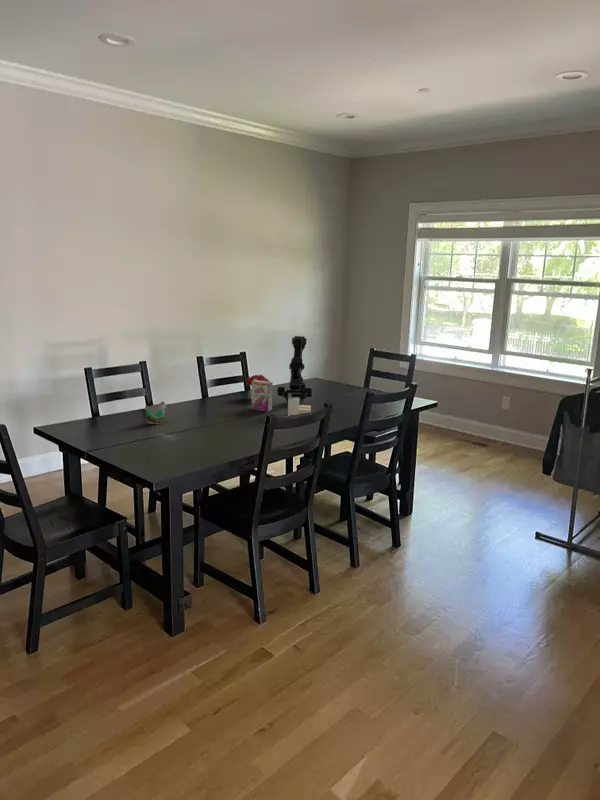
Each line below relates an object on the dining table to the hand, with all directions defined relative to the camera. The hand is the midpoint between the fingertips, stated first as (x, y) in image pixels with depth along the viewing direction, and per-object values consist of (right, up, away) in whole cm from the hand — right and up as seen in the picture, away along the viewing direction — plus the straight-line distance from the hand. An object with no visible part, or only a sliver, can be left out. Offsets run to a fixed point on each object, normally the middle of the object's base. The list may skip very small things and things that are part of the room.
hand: (293, 405), depth 334 cm
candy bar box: (-18, -3, +14) cm, 23 cm away
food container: (-69, -9, -18) cm, 72 cm away
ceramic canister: (0, -6, +3) cm, 7 cm away
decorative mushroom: (-22, +3, +38) cm, 44 cm away
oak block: (+4, -4, +13) cm, 14 cm away
